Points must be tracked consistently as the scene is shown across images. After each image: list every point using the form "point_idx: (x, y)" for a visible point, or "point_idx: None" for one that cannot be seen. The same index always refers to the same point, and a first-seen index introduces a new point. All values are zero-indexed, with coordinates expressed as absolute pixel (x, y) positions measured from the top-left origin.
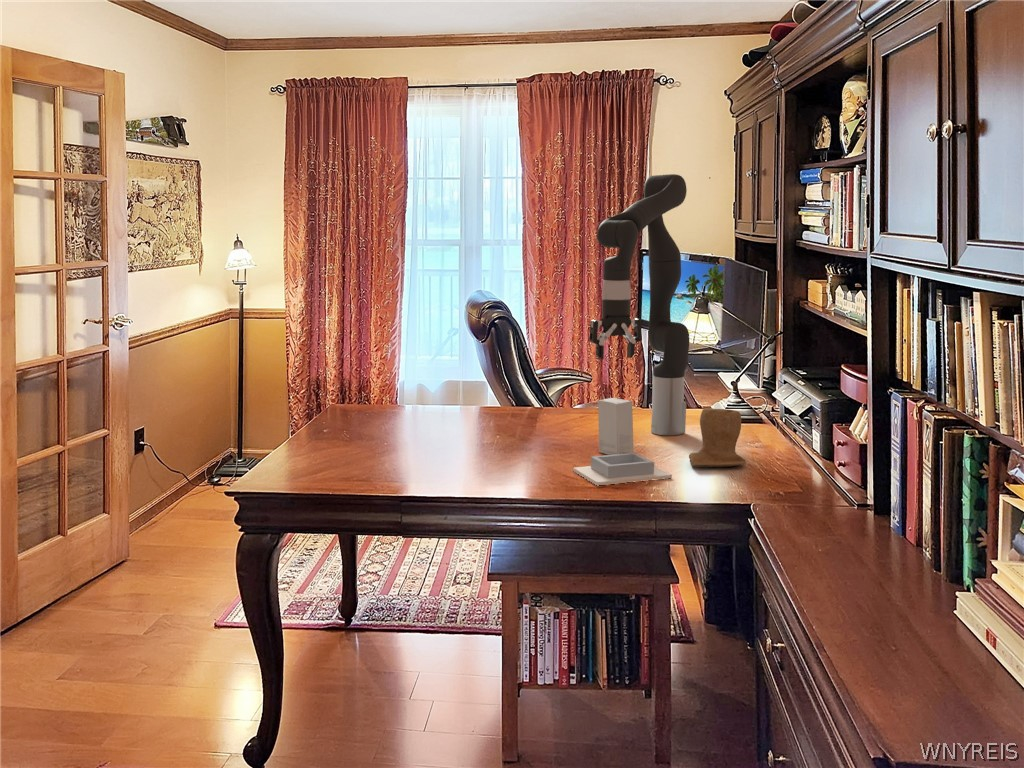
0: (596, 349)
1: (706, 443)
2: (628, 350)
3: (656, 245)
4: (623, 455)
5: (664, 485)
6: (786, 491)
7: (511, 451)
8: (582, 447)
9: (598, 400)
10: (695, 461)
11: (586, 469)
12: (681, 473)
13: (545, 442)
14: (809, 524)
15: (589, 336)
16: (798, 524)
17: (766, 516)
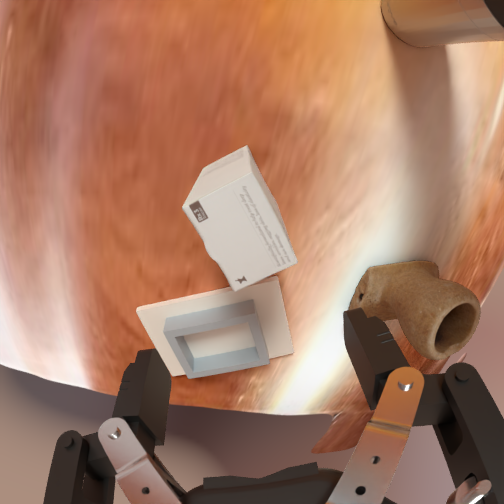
0: (119, 403)
1: (394, 311)
2: (357, 354)
3: None
4: (226, 326)
5: (270, 372)
6: None
7: (24, 160)
8: (170, 118)
9: (183, 209)
10: None
11: (158, 323)
12: (320, 324)
13: (90, 70)
14: (351, 441)
15: (52, 464)
16: (342, 442)
17: (329, 434)
